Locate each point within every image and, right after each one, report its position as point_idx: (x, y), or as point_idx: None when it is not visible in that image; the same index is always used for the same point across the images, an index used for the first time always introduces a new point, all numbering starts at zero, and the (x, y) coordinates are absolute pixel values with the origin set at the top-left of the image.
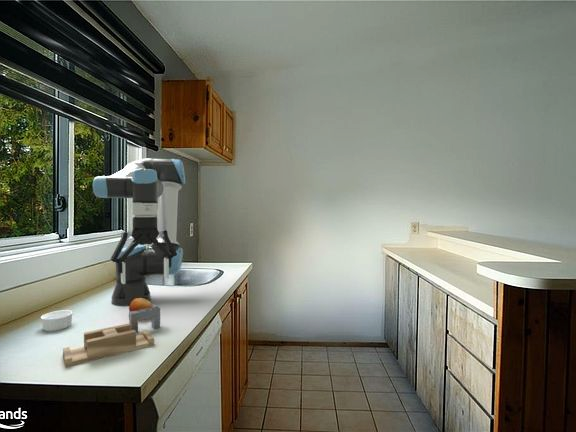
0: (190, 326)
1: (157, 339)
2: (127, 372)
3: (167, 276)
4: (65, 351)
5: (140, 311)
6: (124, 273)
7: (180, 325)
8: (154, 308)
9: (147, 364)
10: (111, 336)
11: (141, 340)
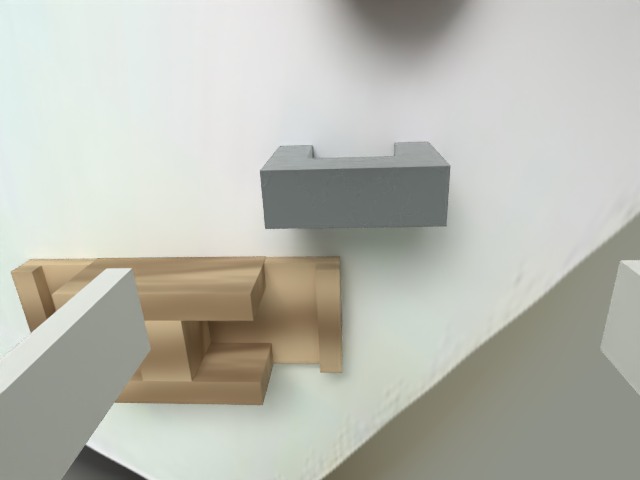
0: (556, 260)
1: (368, 315)
2: (230, 471)
3: (622, 360)
4: (28, 307)
5: (323, 208)
6: (81, 434)
7: (523, 219)
8: (417, 199)
9: (288, 462)
10: (166, 397)
11: (300, 328)
